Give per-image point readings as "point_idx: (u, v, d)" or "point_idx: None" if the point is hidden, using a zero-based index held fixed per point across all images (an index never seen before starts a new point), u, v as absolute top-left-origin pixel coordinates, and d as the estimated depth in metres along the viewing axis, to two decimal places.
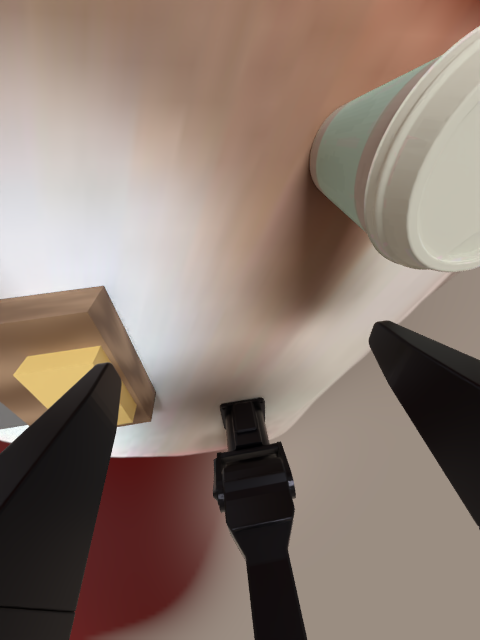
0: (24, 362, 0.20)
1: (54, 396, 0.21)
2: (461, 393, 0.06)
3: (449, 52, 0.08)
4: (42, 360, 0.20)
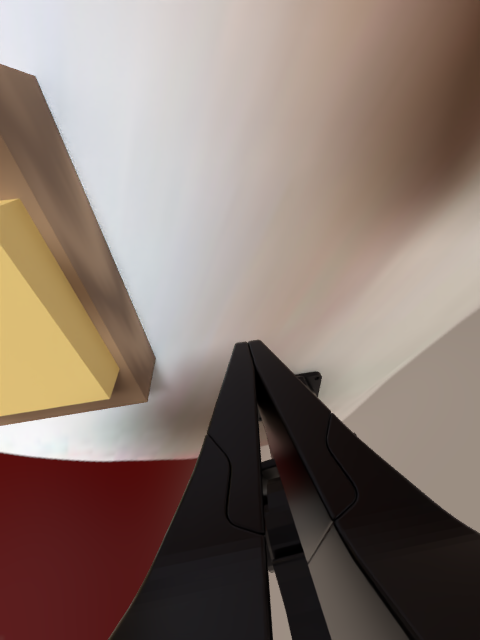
0: None
1: None
2: (278, 425, 0.05)
3: None
4: None
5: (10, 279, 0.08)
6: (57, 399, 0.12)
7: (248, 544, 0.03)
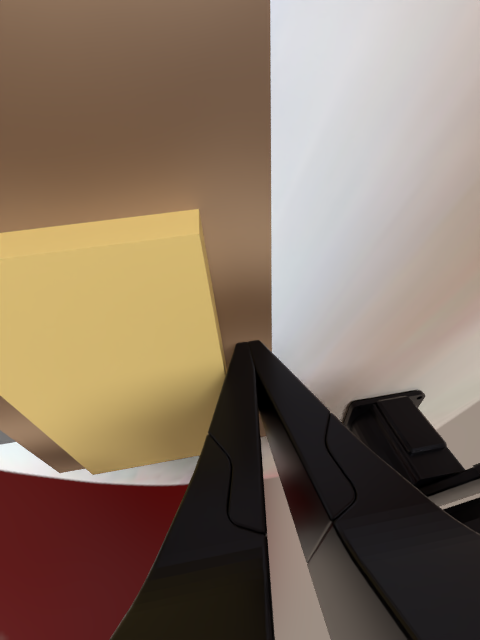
0: None
1: (47, 378, 0.06)
2: (278, 425, 0.05)
3: None
4: None
5: (196, 319, 0.06)
6: (181, 451, 0.10)
7: (248, 544, 0.03)
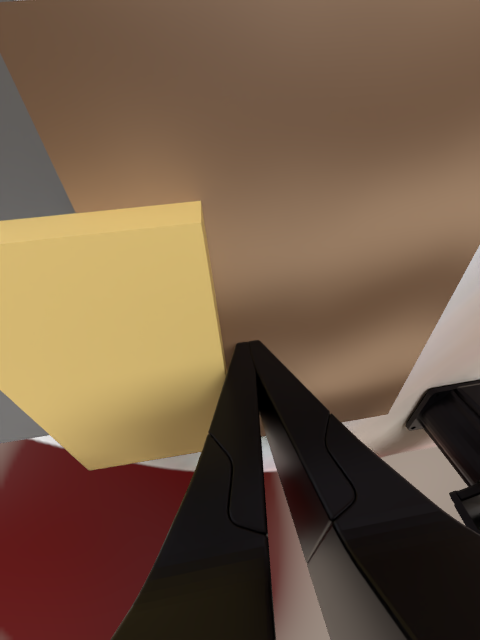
0: None
1: (44, 369, 0.06)
2: (277, 425, 0.05)
3: None
4: None
5: (197, 311, 0.06)
6: (178, 448, 0.10)
7: (249, 544, 0.03)
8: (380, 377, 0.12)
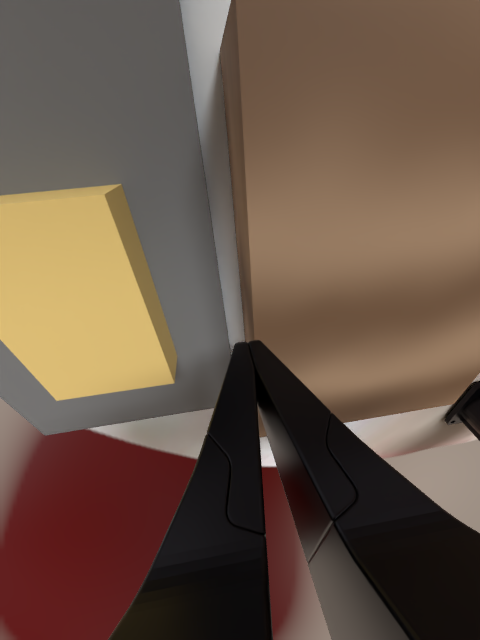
0: (106, 191, 0.08)
1: None
2: (278, 425, 0.05)
3: None
4: (61, 194, 0.08)
5: None
6: None
7: (247, 544, 0.03)
8: (460, 365, 0.12)
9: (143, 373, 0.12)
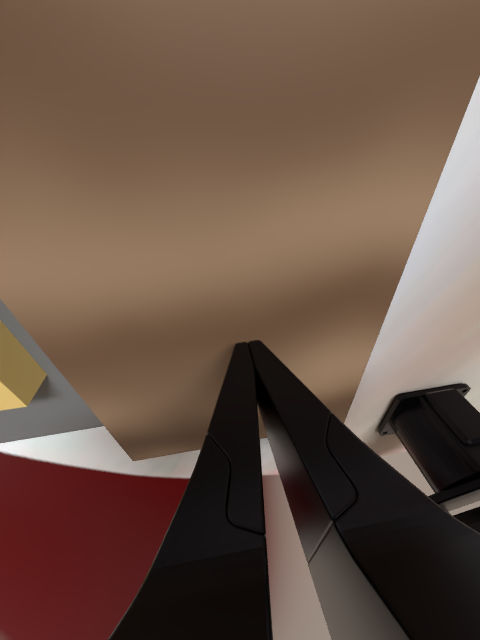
0: None
1: None
2: (278, 424, 0.05)
3: None
4: None
5: None
6: None
7: (247, 544, 0.03)
8: (328, 388, 0.11)
9: None
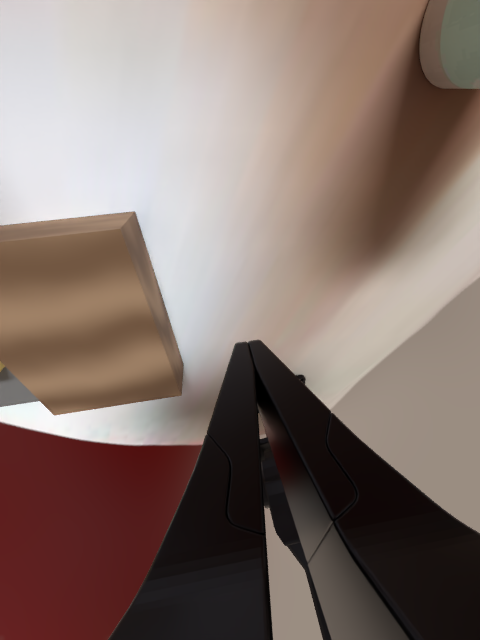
0: None
1: None
2: (278, 425, 0.05)
3: None
4: None
5: None
6: None
7: (247, 544, 0.03)
8: (154, 372, 0.21)
9: None
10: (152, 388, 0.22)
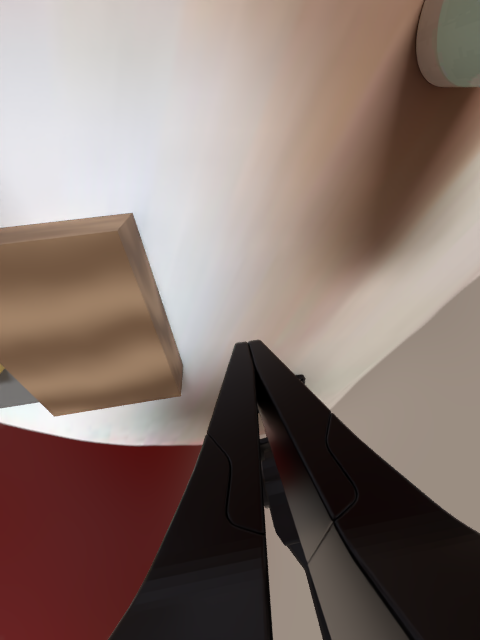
0: None
1: None
2: (278, 424, 0.05)
3: None
4: None
5: None
6: None
7: (247, 544, 0.03)
8: (153, 373, 0.21)
9: None
10: (151, 389, 0.22)
